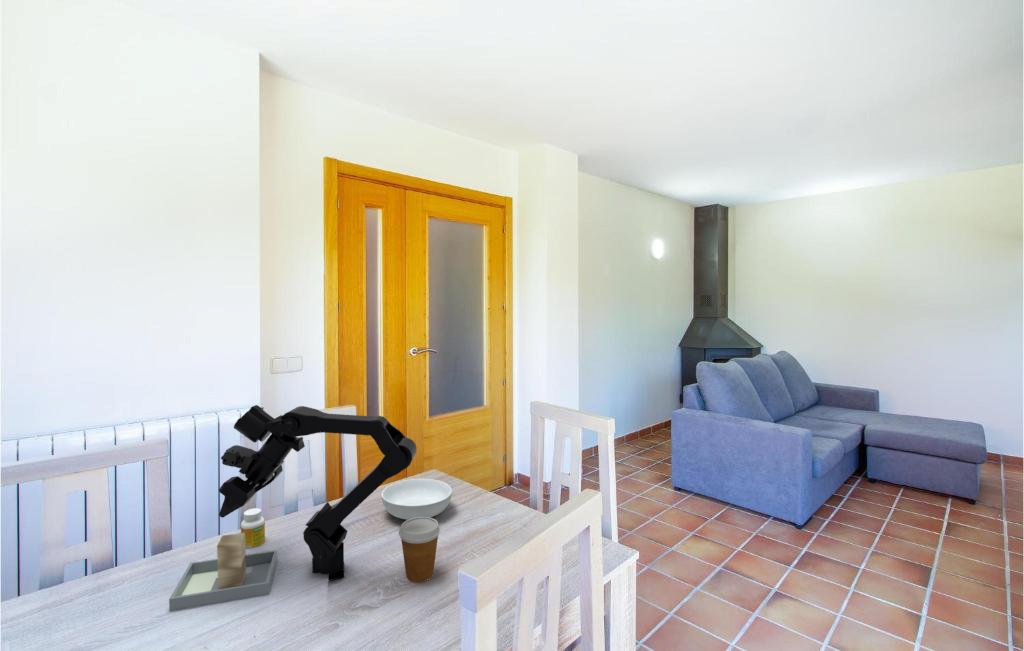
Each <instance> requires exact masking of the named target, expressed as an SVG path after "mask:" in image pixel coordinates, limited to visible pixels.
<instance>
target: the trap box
mask: <svg viewBox="0 0 1024 651" xmlns="http://www.w3.org/2000/svg"><path fill="white" fill-rule="evenodd" d="M245 561H246V567H251V566H253V567H252V569H251V571H250V572H246V576H245V579H244V582H243V585H242V586H237V587H231V588H225V589H219V590H218V560H217V558H214V559H205V560H200V561H193V562H190V563H189V565H188V566H187V568H186V569H185V571H184V573H182V574H183V575H182V576H181V578H180V580H179V582H178V583H177V585H176V587H175V588H174V589H173V592H172V594H171V595H170V597H169V599H168V604H169V612H175V611H180V610H185V609H192V608H197V607H204V606H209V605H214V604H215V605H216V604H220V603H226V602H227V603H228V602H233V601H238V600H244V599H245V600H246V599H251V598H255V597H256V598H257V597H263V596H268V595H269V594H270V591H271V588H272V583H273V580H274V575H275V572H276V568H277V564H278V550H277V549H275V550H269V551H268V550H267V551H263V552H262V551H261V552H255V553H247V554H245Z"/></svg>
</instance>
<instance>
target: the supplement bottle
mask: <svg viewBox="0 0 1024 651" xmlns="http://www.w3.org/2000/svg"><path fill="white" fill-rule="evenodd" d="M265 525H266V524H265V518H264V517H263V516H262V509H261V508H259V507H257V508H256V507H255V508H249V509H246V510H245V511H243V520H242V521H241V524H240V533H245V549H253V548H254V549H255V548H257V547H259V546H261V545H263V544H264V543H265V541H266V529H265V528H266V526H265Z"/></svg>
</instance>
